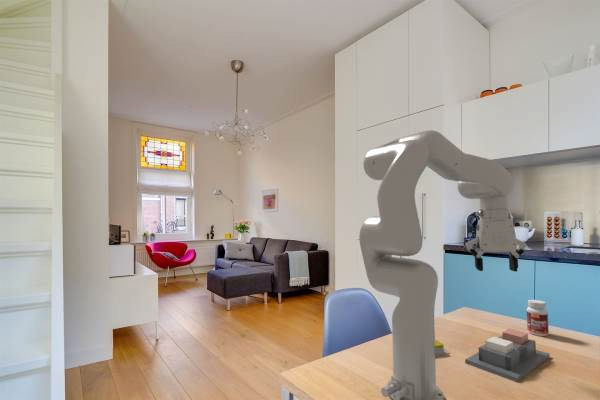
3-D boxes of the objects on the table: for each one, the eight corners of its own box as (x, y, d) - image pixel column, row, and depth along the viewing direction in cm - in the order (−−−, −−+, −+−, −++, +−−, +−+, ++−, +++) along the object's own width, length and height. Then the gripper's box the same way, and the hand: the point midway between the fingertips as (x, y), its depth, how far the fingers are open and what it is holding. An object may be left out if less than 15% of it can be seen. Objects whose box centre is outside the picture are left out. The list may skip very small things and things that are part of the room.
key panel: (517, 381, 80) (516, 363, 80) (465, 362, 90) (464, 346, 91) (549, 356, 94) (548, 341, 94) (501, 343, 104) (501, 329, 105)
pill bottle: (530, 335, 111) (529, 302, 112) (524, 329, 117) (523, 298, 117) (551, 337, 109) (550, 304, 110) (545, 331, 115) (543, 300, 115)
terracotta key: (521, 348, 92) (521, 337, 92) (502, 342, 96) (502, 332, 96) (528, 344, 95) (527, 333, 95) (509, 339, 99) (509, 328, 99)
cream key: (505, 358, 86) (505, 346, 86) (486, 352, 90) (485, 340, 90) (513, 353, 88) (512, 341, 89) (494, 347, 93) (493, 336, 93)
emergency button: (391, 333, 103) (432, 330, 106) (392, 347, 102) (432, 343, 106) (407, 345, 94) (451, 340, 97) (407, 360, 93) (451, 355, 97)
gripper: (469, 215, 96) (471, 272, 95) (531, 214, 93) (534, 273, 92) (460, 215, 103) (462, 268, 102) (517, 214, 101) (520, 268, 100)
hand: (496, 270), depth 97 cm, fingers open, 9 cm apart
